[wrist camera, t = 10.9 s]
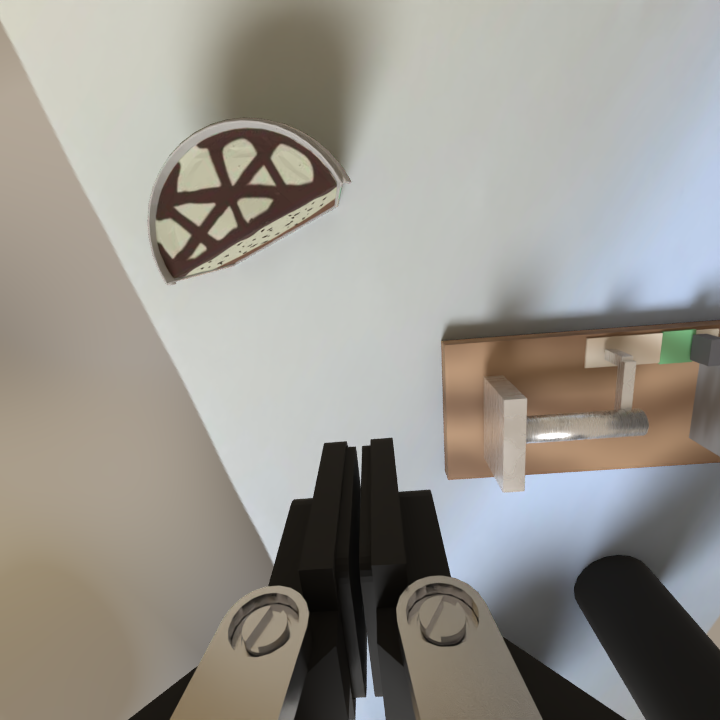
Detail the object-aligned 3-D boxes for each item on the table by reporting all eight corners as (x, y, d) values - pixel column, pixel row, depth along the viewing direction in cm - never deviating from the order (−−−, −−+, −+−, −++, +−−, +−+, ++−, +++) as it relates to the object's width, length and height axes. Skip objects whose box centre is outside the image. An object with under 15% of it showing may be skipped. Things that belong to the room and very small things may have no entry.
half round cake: (314, 115, 30) (290, 56, 20) (355, 196, 32) (350, 177, 22) (173, 202, 32) (90, 185, 22) (218, 275, 33) (158, 288, 24)
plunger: (482, 358, 33) (504, 380, 27) (623, 348, 32) (671, 368, 27) (482, 455, 35) (503, 492, 30) (614, 447, 34) (657, 482, 29)
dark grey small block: (693, 334, 32) (711, 339, 30) (706, 333, 32) (726, 338, 30) (689, 359, 33) (707, 366, 31) (703, 358, 33) (721, 365, 31)
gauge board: (441, 341, 34) (468, 376, 25) (741, 318, 34) (881, 346, 24) (445, 470, 38) (470, 544, 29) (718, 452, 37) (835, 522, 28)
